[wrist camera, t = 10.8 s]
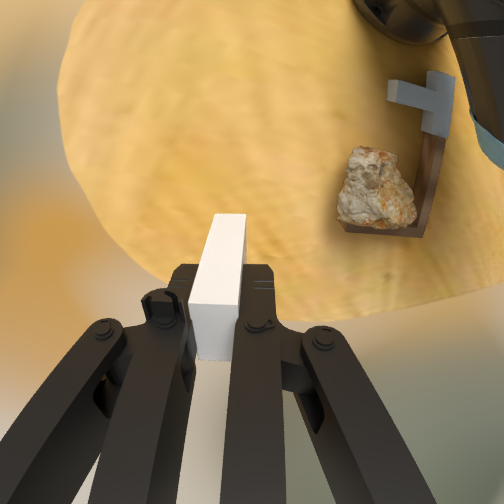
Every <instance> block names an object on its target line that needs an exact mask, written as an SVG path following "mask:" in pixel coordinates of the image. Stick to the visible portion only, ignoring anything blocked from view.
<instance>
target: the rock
mask: <svg viewBox="0 0 504 504" xmlns="http://www.w3.org/2000/svg"><path fill="white" fill-rule="evenodd" d="M397 162H398V157H397V155H396V154H392V153H390V152H386V151H382V150H378V149H374V148H369V147H362V146H360V147H358V148H354V149H353V153H352V154H351V155H350V157H349V162H348V168H347V169H346V171H347V172H348V175H347V178H346V179H345V180H344V186H343V188H342V190H341V191H340V193H339V195H338V201H337V203H338V204H337V206H336V207H337V211H338V212H339V213H338V217H337V220H340V221H344V222H347V223H350V224H354V225H358V226H369V227H373V228H375V229H384V230H385V229H389V228H391V229H393V230H395V229H398V228H399V227H403V228H405V227H407V225H409V224H411V223H412V222H413V221H414V220H415V219H416V217H417V210H416V208H415V205H414V202H413V200H414V196H413V194H412V190H411V189H410V188H409V185H408V184H407V183H406V182H405V181H404V179H401V174H400V172H399V171H398V170H397V168H396V164H397Z"/></svg>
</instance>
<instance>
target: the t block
mask: <svg viewBox="0 0 504 504" xmlns="http://www.w3.org/2000/svg"><path fill="white" fill-rule="evenodd" d="M454 86H455V77H452V76H450V75H448V74H445V73H442V72H440V71H427V77H426V88H424V87H421V86H418V85H415V84H411V83H408V82H405V81H401V80H388V88H387V98H386V101H390V102H394V103H398V104H402V105H406V106H410V107H414V108H417V109H421V110H423V116H422V124H421V131H424V132H427V133H430V134H433V135H436V136H440V137H443V138H447V139H448V135H449V129H450V122H451V115H452V106H453V97H454Z"/></svg>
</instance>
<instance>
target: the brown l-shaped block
mask: <svg viewBox="0 0 504 504" xmlns="http://www.w3.org/2000/svg"><path fill="white" fill-rule="evenodd" d="M445 142H446V138H443V137H440V136H436V135H433V134H430V133H427V132H425V134H424V140H423V146H422V152H421V158H420V163H419V168H418V173H417V178H416V182H415V187H414V191H413V196H414V200H413V202H414V205H415V208H416V210H417V217H416V219H415V220H414V221H413V222H412V223H411V224H409V225H407V227H405V228H403V227H399V228H398V229H395V230H393V229H391V228H389V229H385V230H384V229H375V228H373V227H369V226H358V225H354V224H350V223H347V222H344V221H340V220H339V221H340V223H341V225H342V227H343V228H344V230H345V232H351V233H366V234H379V235H392V236H405V237H417V238H422V237H423V234H424V231H425V227H426V224H427V220H428V217H429V213H430V210H431V206H432V202H433V198H434V194H435V190H436V186H437V182H438V177H439V173H440V168H441V163H442V158H443V153H444V148H445Z"/></svg>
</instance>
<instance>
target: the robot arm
mask: <svg viewBox="0 0 504 504" xmlns="http://www.w3.org/2000/svg"><path fill="white" fill-rule="evenodd" d="M353 1H354V3H355V5H356V7H357V8H358V10H359V11H360V13H361V14H362V15H363V16H364V18H365V19H366V20H367V21H368V22H369V23H370V24H371V25H372V26H373V27H375V28H376V29H377V30H378V31H380V32H381V33H383V34H384V35H386V36H387V37H389V38H391V39H393V40H396V41H398V42H401V43H404V44H409V45H424V44H430V43H434V42H437V41H439V40H441V39H442V38H444V37H445V36H446V35H447V34H448V35H449V37H450V41H451V43H452V46H453V49H454V52H455V55H456V58H457V61H458V64H459V67H460V70H461V74H462V77H463V81H464V85H465V89H466V93H467V97H468V101H469V105H470V110H469V111H470V116H471V118H472V120H473V121H474V125H475V130H476V134H477V139H478V143H479V145H480V148H481V149H482V151H483V152H484V154H485V155H486V156H487V157H488V158H489V160H490V161H491V162H493V163H494V164H495V165H496V166H498V167H499V168H501V169H502V170H504V0H353ZM486 36H493V37H486ZM471 37H475V38H471ZM460 38H463V39H460ZM453 39H454V40H453ZM141 303H142V307H143V310H144V313H145V317H146V322H145V323H144V324H141V325H137V326H131V327H125V328H123V327H122V325H121V323H120V322H119V321H117V320H115V319H112V318H105V319H101V320H98V321H96V322H94V323H93V324H92V325H91V326H90V327H89V328H88V329H87V330H86V331H85V332H84V334H83V335H82V336H81V337H80V338H79V340H78V341H77V342H76V343H75V344H74V345H73V346H72V348H71V349H70V350H69V351H68V352H67V354H66V355H65V356H64V357H63V359H62V360H61V361H60V363H59V364H58V365H57V366H56V367H55V368H54V370H53V371H52V372H51V373H50V375H49V376H48V377H47V379H46V380H45V381H44V382H43V384H42V385H41V386H40V388H39V389H38V390H37V391H36V393H35V394H34V395H33V397H32V398H31V399H30V401H29V402H28V403H27V405H26V406H25V407H24V409H23V410H22V411H21V413H20V414H19V416H18V417H17V418H16V420H15V421H14V423H13V424H12V425H11V427H10V428H9V430H8V431H7V433H6V434H5V435H4V437H3V438H2V440H1V441H0V504H71V503H72V502H73V500H74V498H75V496H76V494H77V493H78V491H79V489H80V487H81V486H82V484H83V482H84V480H85V479H86V477H87V475H88V473H89V472H90V470H91V468H92V466H93V465H94V463H95V461H96V460H97V458H98V456H99V454H100V453H101V454H100V457H99V461H98V465H97V468H96V472H95V476H94V480H93V483H92V487H91V492H90V496H89V500H88V504H176V499H177V491H178V484H179V477H180V470H181V463H182V456H183V450H184V443H185V437H186V430H187V424H188V418H189V412H190V405H191V400H192V394H193V388H194V382H195V376H196V366H195V358H196V353H197V356H198V360H208V361H229V362H232V363H231V374H230V386H229V396H228V409H227V420H226V431H225V443H224V455H223V468H222V481H221V493H220V504H286V478H285V477H286V475H285V447H284V446H285V445H284V421H283V397H282V389H283V390H286V391H290V392H293V393H294V396H295V399H296V401H297V404H298V407H299V409H300V412H301V415H302V417H303V420H304V422H305V425H306V427H307V430H308V433H309V435H310V438H311V441H312V443H313V445H314V448H315V451H316V453H317V456H318V458H319V461H320V464H321V466H322V469H323V471H324V474H325V476H326V479H327V481H328V484H329V487H330V489H331V492H332V494H333V496H334V499H335V502H336V504H437V503H436V501H435V499H434V497H433V495H432V493H431V491H430V489H429V487H428V485H427V483H426V481H425V480H424V478H423V476H422V474H421V472H420V470H419V468H418V466H417V464H416V462H415V460H414V458H413V457H412V455H411V453H410V451H409V449H408V448H407V445H406V444H405V442H404V440H403V438H402V436H401V434H400V433H399V431H398V429H397V428H396V426H395V424H394V422H393V420H392V418H391V416H390V415H389V413H388V411H387V410H386V408H385V406H384V404H383V402H382V400H381V399H380V397H379V395H378V393H377V392H376V390H375V388H374V387H373V385H372V383H371V382H370V380H369V378H368V376H367V375H366V373H365V371H364V369H363V368H362V366H361V364H360V363H359V361H358V359H357V358H356V356H355V354H354V353H353V351H352V349H351V347H350V346H349V344H348V342H347V341H346V339H345V337H344V336H343V335H342V334H341V333H340V332H339V331H338V330H336V329H334V328H332V327H328V326H315V327H313V328H310V329H308V330H307V331H306V332H305V333H300V332H296V331H293V330H290V329H288V328H286V327H284V326H283V325H282V324H281V323H280V322H279V321H278V319H277V316H276V304H275V289H274V273H273V271H272V269H271V268H270V267H269V265H268V264H246V214H215V216H214V219H213V222H212V225H211V228H210V232H209V235H208V238H207V241H206V244H205V248H204V251H203V254H202V257H201V261H200V264H181V265H180V266H179V267H178V268H177V269H175V270H174V272H173V274H172V277H171V280H170V282H169V284H168V287H167V288H161V289H156V290H153V291H150V292H149V293H147V294H146V295H144V297H143V298H142V299H141Z"/></svg>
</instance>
